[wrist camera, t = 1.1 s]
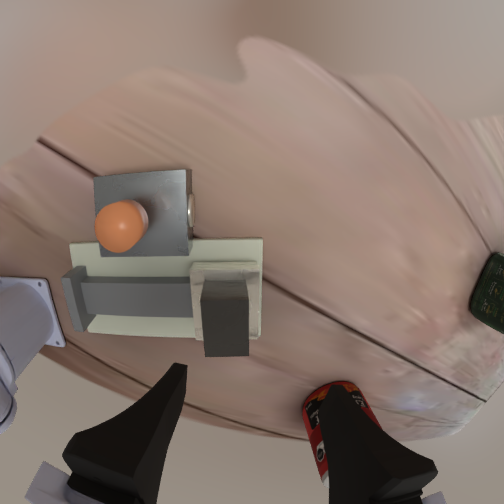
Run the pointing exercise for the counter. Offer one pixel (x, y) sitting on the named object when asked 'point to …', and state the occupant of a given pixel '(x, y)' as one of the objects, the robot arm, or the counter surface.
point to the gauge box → (153, 210)
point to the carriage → (225, 306)
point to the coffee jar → (491, 294)
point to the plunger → (121, 225)
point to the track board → (162, 269)
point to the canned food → (313, 424)
